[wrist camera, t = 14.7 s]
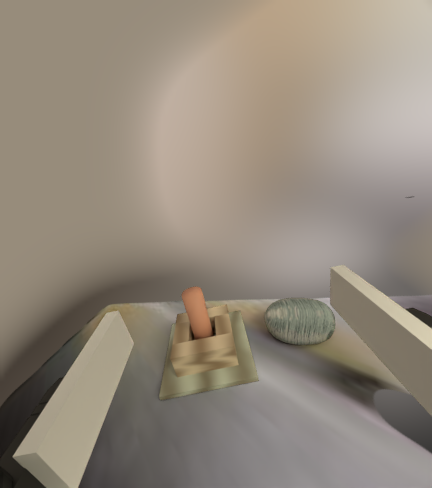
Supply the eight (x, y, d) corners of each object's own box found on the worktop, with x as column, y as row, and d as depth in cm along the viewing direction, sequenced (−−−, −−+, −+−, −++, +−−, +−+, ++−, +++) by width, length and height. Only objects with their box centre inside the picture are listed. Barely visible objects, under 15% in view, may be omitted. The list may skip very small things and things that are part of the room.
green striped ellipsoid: (332, 304, 46) (324, 283, 40) (344, 350, 40) (337, 335, 34) (272, 310, 52) (257, 294, 46) (275, 352, 46) (258, 339, 40)
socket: (240, 313, 54) (237, 294, 51) (258, 380, 37) (254, 356, 35) (173, 327, 54) (166, 308, 51) (160, 400, 37) (150, 377, 35)
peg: (215, 336, 47) (201, 284, 42) (216, 351, 43) (201, 296, 38) (198, 340, 47) (182, 289, 42) (197, 355, 43) (180, 301, 38)
